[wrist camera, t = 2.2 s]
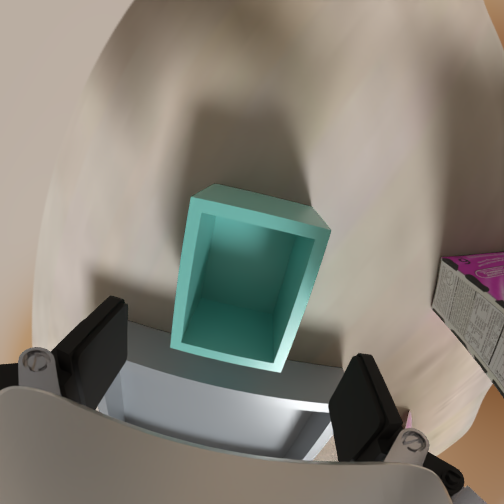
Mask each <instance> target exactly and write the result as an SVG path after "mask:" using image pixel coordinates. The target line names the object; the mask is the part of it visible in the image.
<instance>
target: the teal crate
mask: <svg viewBox="0 0 504 504" xmlns="http://www.w3.org/2000/svg"><path fill="white" fill-rule="evenodd" d="M330 233H331V229H330V228H329V227H328V225H327V224H326V223H325V222H324V221H323V219H322V218H321V217H320V216H319V215H318V213H317V212H316V211H315V210H314V209H313V207H311V206H307V205H304V204H300V203H296V202H292V201H288V200H284V199H280V198H276V197H272V196H268V195H264V194H260V193H255V192H251V191H247V190H242V189H238V188H233V187H229V186H224V185H220V184H213V185H211V186H209V187H207V188H206V189H204V190H202V191H200V192H198V193H197V194H195V195H193V196H191V199H190V205H189V210H188V216H187V222H186V228H185V234H184V240H183V247H182V253H181V260H180V267H179V274H178V282H177V290H176V298H175V306H174V315H173V324H172V334H171V345H170V348H173V349H177V350H180V351H184V352H188V353H192V354H195V355H199V356H203V357H207V358H212V359H216V360H220V361H224V362H229V363H233V364H238V365H243V366H248V367H253V368H258V369H263V370H268V371H274V372H280V373H281V371H282V369H283V366H284V364H285V361H286V359H287V356H288V354H289V351H290V349H291V346H292V343H293V341H294V338H295V336H296V333H297V330H298V328H299V325H300V322H301V319H302V317H303V314H304V311H305V308H306V306H307V303H308V300H309V297H310V294H311V291H312V289H313V286H314V283H315V280H316V277H317V274H318V271H319V268H320V265H321V262H322V259H323V256H324V252H325V249H326V246H327V243H328V240H329V237H330Z"/></svg>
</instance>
